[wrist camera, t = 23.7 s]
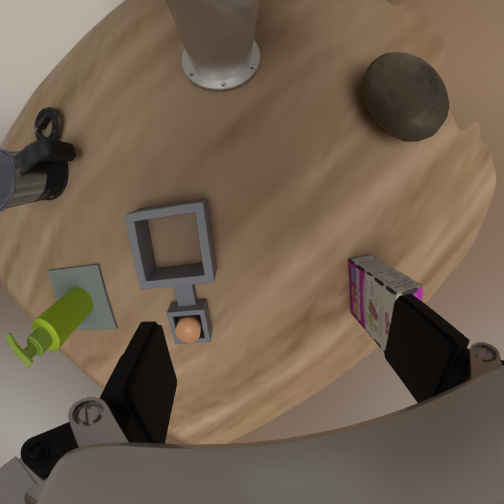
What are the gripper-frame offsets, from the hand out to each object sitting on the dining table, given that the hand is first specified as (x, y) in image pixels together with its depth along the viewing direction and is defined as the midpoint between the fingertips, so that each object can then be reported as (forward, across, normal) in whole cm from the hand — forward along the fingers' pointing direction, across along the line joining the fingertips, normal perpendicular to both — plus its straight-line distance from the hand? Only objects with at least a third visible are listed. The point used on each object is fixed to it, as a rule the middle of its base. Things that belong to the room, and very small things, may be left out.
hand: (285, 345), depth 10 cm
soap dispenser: (+33, +33, +13) cm, 49 cm away
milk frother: (+34, +35, -16) cm, 52 cm away
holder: (+34, +11, +9) cm, 37 cm away
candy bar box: (+34, -20, +14) cm, 42 cm away
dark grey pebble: (+34, -25, -18) cm, 46 cm away
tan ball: (+31, +11, +17) cm, 37 cm away
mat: (+34, +33, +13) cm, 49 cm away
